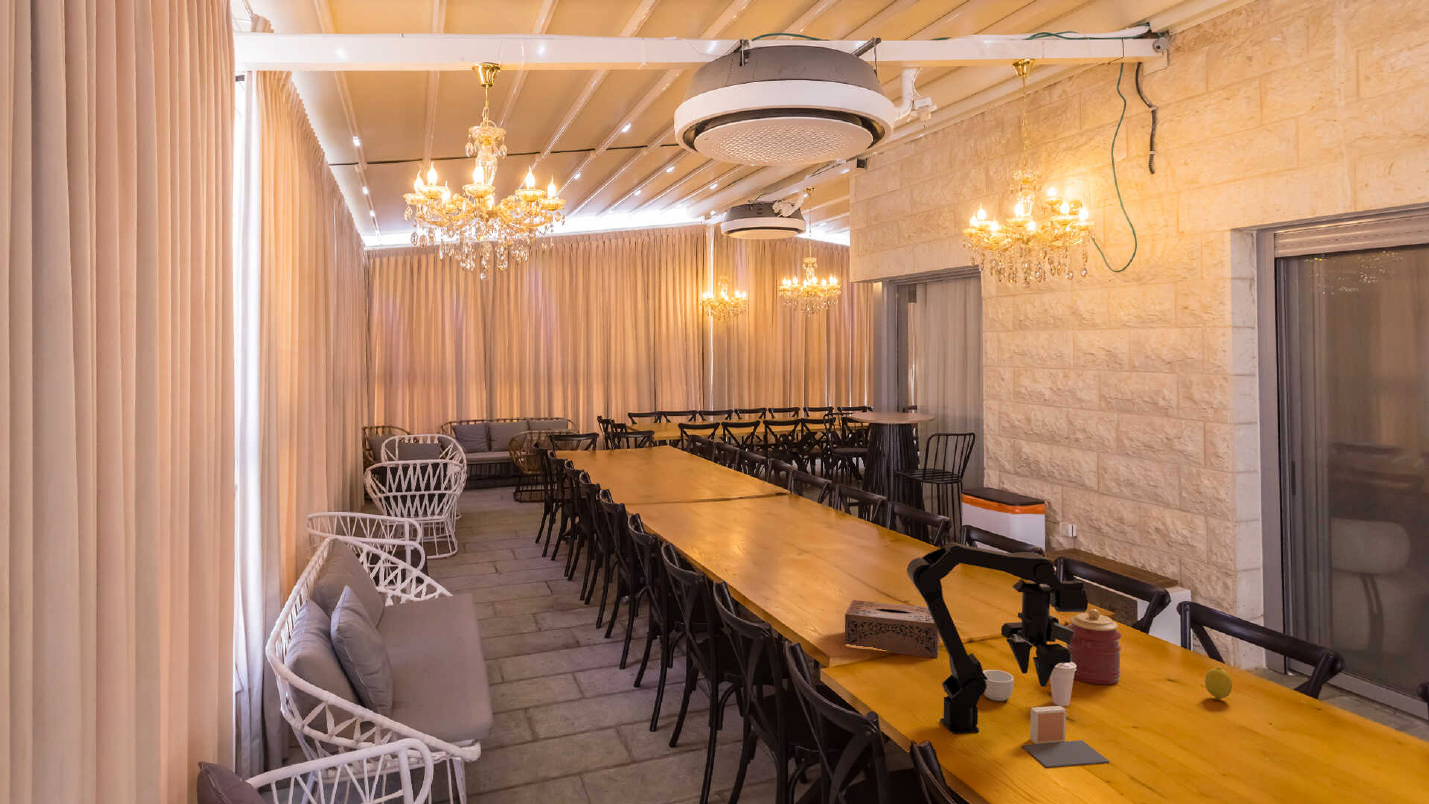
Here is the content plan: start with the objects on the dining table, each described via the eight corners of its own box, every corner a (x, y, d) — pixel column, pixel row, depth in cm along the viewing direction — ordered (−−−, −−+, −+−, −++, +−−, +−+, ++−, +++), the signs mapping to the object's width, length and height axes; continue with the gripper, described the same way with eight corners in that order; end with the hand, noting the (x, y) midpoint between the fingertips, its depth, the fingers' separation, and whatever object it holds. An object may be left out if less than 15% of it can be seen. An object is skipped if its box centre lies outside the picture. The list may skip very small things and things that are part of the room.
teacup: (1007, 707, 184) (1007, 685, 184) (975, 698, 189) (975, 676, 189) (1020, 693, 192) (1020, 672, 192) (989, 685, 197) (989, 664, 196)
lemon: (1206, 692, 192) (1207, 661, 192) (1233, 698, 189) (1234, 666, 188) (1203, 700, 188) (1204, 667, 188) (1230, 706, 184) (1231, 673, 184)
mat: (1046, 767, 156) (1046, 766, 156) (1022, 746, 165) (1022, 744, 165) (1109, 762, 158) (1109, 761, 158) (1082, 741, 167) (1082, 740, 167)
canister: (1115, 690, 194) (1116, 620, 193) (1059, 677, 202) (1061, 610, 201) (1124, 673, 204) (1126, 607, 203) (1071, 662, 212) (1073, 598, 211)
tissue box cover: (844, 648, 223) (845, 614, 223) (852, 631, 237) (852, 599, 237) (937, 659, 215) (937, 623, 215) (939, 641, 229) (940, 608, 228)
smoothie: (1059, 710, 182) (1060, 651, 182) (1040, 698, 189) (1041, 642, 188) (1081, 706, 184) (1083, 649, 184) (1062, 695, 190) (1064, 639, 190)
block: (1035, 743, 166) (1036, 712, 166) (1030, 739, 168) (1030, 707, 168) (1065, 741, 167) (1066, 709, 167) (1059, 737, 169) (1060, 705, 169)
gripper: (1095, 623, 164) (1093, 695, 165) (1044, 597, 183) (1042, 662, 183) (1047, 625, 163) (1045, 698, 163) (1000, 599, 181) (999, 664, 182)
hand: (1033, 679), depth 173 cm, fingers open, 7 cm apart
